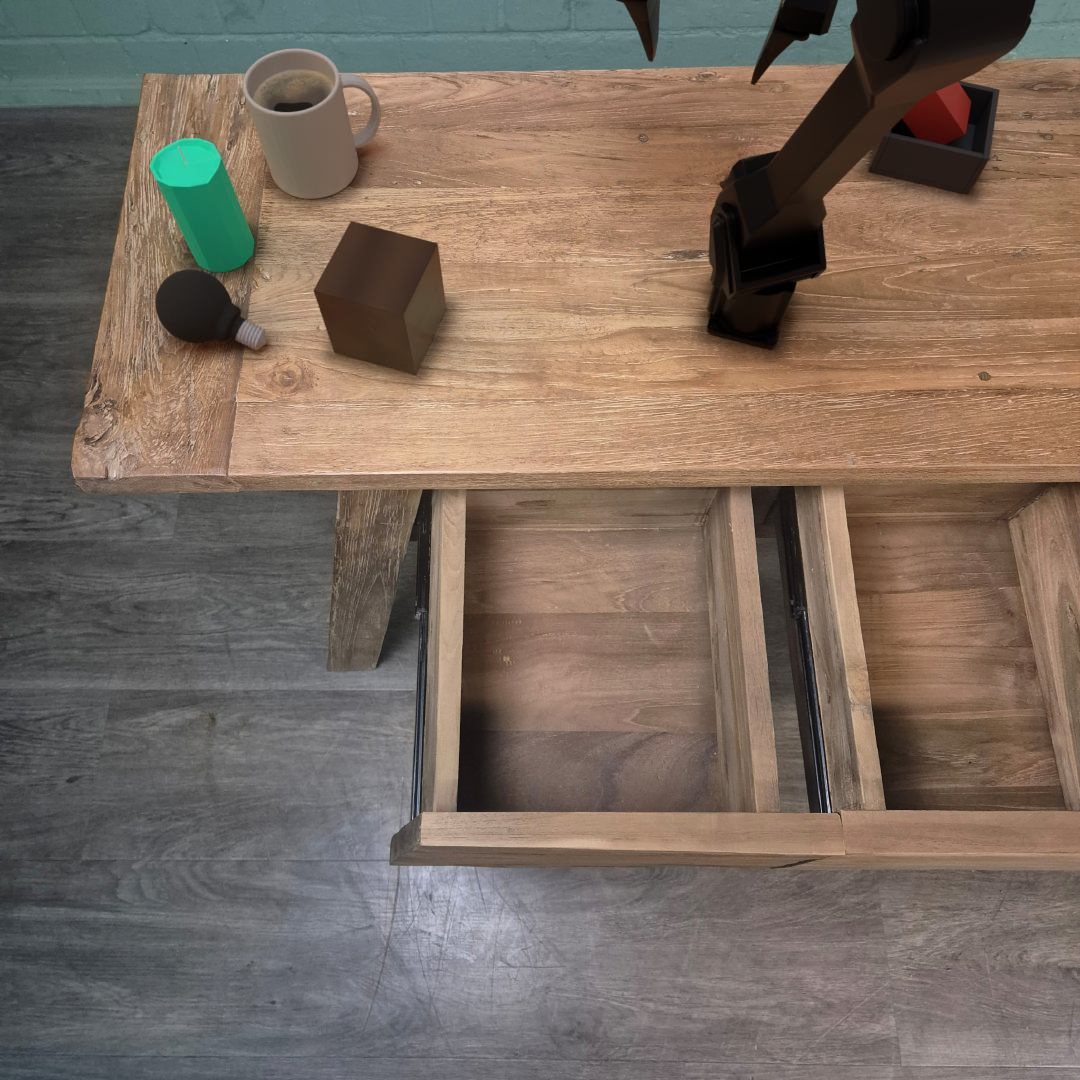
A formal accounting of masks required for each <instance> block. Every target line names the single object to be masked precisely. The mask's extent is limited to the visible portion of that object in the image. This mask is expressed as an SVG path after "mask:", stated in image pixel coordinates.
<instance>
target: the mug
mask: <svg viewBox="0 0 1080 1080" xmlns="http://www.w3.org/2000/svg"><path fill="white" fill-rule="evenodd" d="M347 88H354V89H358V90H359V91H360V90H361V91H362V92H364V93H365V95H367V96H368V97H369V100H370V105H371V110H370V116H369V119H368V122H367V123H366V125H365V126H364V128H362V129H361V130H360V131H359V132H357V133H355V134H353V130H352V125H351V120H350V117H349V112H348V108H347V103H346V102H347V101H346V97H345V94H344V89H347ZM242 90H243V96H244V98H245V100H246V104H247V107H248V109H249V112H250V115H251V116H250V117H251V118H252V122H253V125H254V127H255V130H256V133H257V136H258V140H259V142H260V144H261V145H260V146H261V148H262V151H263V154H264V158H265V160H266V163H267V166H268V169H269V172H270V175H271V178H272V181H273V182H274V183H275V184H276V186H277V187H278V188H279V189H280V190H281V191H283V192H284V193H286V194H288V195H290V196H293V197H296V198H299V199H305V200H314V199H321V198H327V197H330V196H333V195H335V194H337V193H339V192H341V191H342V190H344V189H345V188H346V187H348V186H349V185H350V184H351V183H352V181H353V180H354V178H355V177H356V175H357V172H358V169H359V158H358V153H357V149H359V148H361V147H363V146H365V145H367V144H368V143H369V142H371V140H373V138H374V137H375V135H376V134H377V132H378V130H379V127H380V124H381V120H382V118H381V117H382V111H381V105H380V101H379V98H378V96H377V95H376V93H375V91H374V89H373V88H372V85H371V84H370V83H369V81H367V80H366V79H365V78H363V77H362V76H360V75H359V74H356V73H351V72H343V73H340V71H339V69H338V67H337V66H336V64H335V63H334V62H333V61H332V60H331V58H329V57H327V56H326V55H324V54H323V53H321V52H318V51H315V50H312V49H308V48H286V49H280V50H276V51H273V52H270V53H268V54H265V55H264V56H262V57H260V58H259V59H257V60H255V62H254V63H252V65H250V67H249V68H248V69H247V71H246V73H245V75H244V77H243V81H242Z"/></svg>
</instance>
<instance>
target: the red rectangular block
mask: <svg viewBox="0 0 1080 1080" xmlns="http://www.w3.org/2000/svg"><path fill="white" fill-rule="evenodd" d="M970 106H971V101H970V99H969V97H968V96H967V94H966V93H965V91H964V90H963V88H962V87H961V85H960V84H959V82H956V83H954V84H952V85H949V86H947V87H945V88H943V89H941V90H938V91H936V92H934V93H932V94H930V95H927V96H926V97H924V98H922V99H921V100H919V101H918V102H917V103H916V104H915V105H914V106H913V107H912V108H911V109H910V110H909V111H908V112H907V113H906V114H905V115H904V116H903V117H902V119H903V120H904V122H905V123H906V125H907V126H908V127H909V129H910V130H911V132H912V133H913V134H914V136H915V137H916V138H917V139H920V140H925V141H929V142H933V143H938V144H942V145H946V144H948V143H950V142H952V141H954V140H956V139H958V138H960V137H962V136H964V135H965V134H966V129H967V123H968V117H969V112H970Z"/></svg>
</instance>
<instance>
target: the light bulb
mask: <svg viewBox="0 0 1080 1080" xmlns="http://www.w3.org/2000/svg"><path fill="white" fill-rule="evenodd" d="M230 295H231V294H230V293H229V291H228V290H227V288H226V287H225V285H224V284H223V283H222V282H221V281H220V280H219V279H218V278H217V277H215V276H214V275H212V274H210V273H208V272H206V271H203V270H199V269H193V268H189V269H182V270H178V271H175V272H173V273H171V274H170V275H168V276H167V277H166V278H165V279H163V281H162V282H161V284H160V285H159V287H158V289H157V292H156V295H155V299H154V300H155V301H154V303H155V311H156V315H157V318H158V320H159V322H160V324H161V325H162V327H163V328H164V329H165V330H166V331H167V332H168V333H169V334H170V335H171V336H173V337H175V338H176V339H177V340H180V341H182V342H184V343H189V344H199V345H200V344H206V343H211V342H213V341H218V342H219V343H222V344H225V343H228V341H230V340H232V341H235V342H238V343H239V344H240V343H241V344H242V345H244V346H246V347H247V346H248V348H249V349H250V348H251V349H252V350H255V351H258V350H259V349H261V348H262V347H264V346H265V345H266V344H267V332H266V328H264V327H263V328H262V326H259V324H256V323H254V322H253V323H252V321H249V319H246V318H244V317H243V316H241V314H242V309H241V308H240V307H239V306H238V305H236V304H234V302H233V301H232V298H231V296H230Z"/></svg>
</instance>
